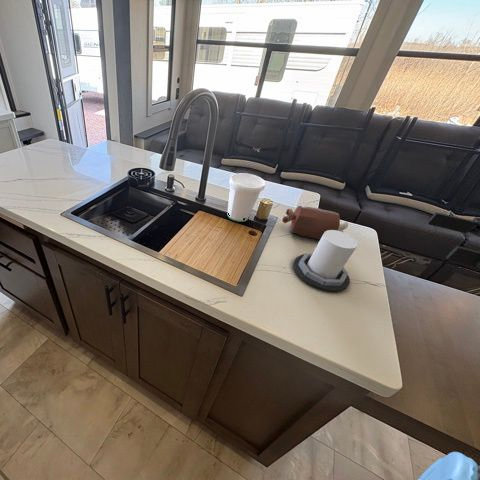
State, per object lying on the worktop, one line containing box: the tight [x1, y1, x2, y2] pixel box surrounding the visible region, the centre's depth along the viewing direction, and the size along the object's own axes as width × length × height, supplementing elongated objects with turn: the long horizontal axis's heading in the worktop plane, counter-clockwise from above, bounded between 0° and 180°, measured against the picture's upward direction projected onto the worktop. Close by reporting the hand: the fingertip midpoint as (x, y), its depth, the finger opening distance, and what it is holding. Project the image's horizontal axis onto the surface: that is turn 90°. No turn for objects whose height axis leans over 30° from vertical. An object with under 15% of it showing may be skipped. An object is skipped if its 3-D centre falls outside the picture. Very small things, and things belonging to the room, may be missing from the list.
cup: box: [226, 172, 267, 223], centre depth 96 cm, size 12×12×15 cm
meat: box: [281, 205, 349, 240], centre depth 89 cm, size 20×12×10 cm, turn 70°
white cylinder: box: [307, 230, 359, 279], centre depth 72 cm, size 8×8×12 cm
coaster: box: [292, 252, 351, 294], centre depth 76 cm, size 15×15×3 cm
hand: (440, 233), depth 51 cm, fingers open, 13 cm apart
